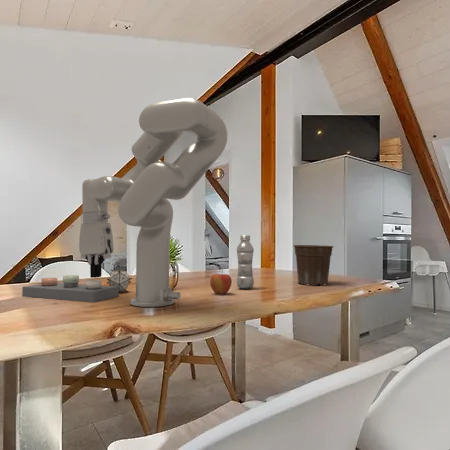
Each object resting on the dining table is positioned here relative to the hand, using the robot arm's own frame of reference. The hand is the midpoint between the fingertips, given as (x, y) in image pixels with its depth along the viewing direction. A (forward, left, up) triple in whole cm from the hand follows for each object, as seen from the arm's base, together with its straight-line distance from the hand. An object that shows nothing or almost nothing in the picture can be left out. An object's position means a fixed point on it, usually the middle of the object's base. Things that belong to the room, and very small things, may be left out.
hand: (96, 277), depth 116 cm
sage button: (+10, 0, -5) cm, 11 cm away
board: (+10, 0, -7) cm, 12 cm away
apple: (-33, -23, -7) cm, 41 cm away
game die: (+1, -13, -7) cm, 15 cm away
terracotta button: (+19, 0, -6) cm, 20 cm away
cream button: (+1, 0, -6) cm, 6 cm away
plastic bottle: (-37, -38, -7) cm, 54 cm away
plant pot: (-59, -63, -7) cm, 87 cm away
